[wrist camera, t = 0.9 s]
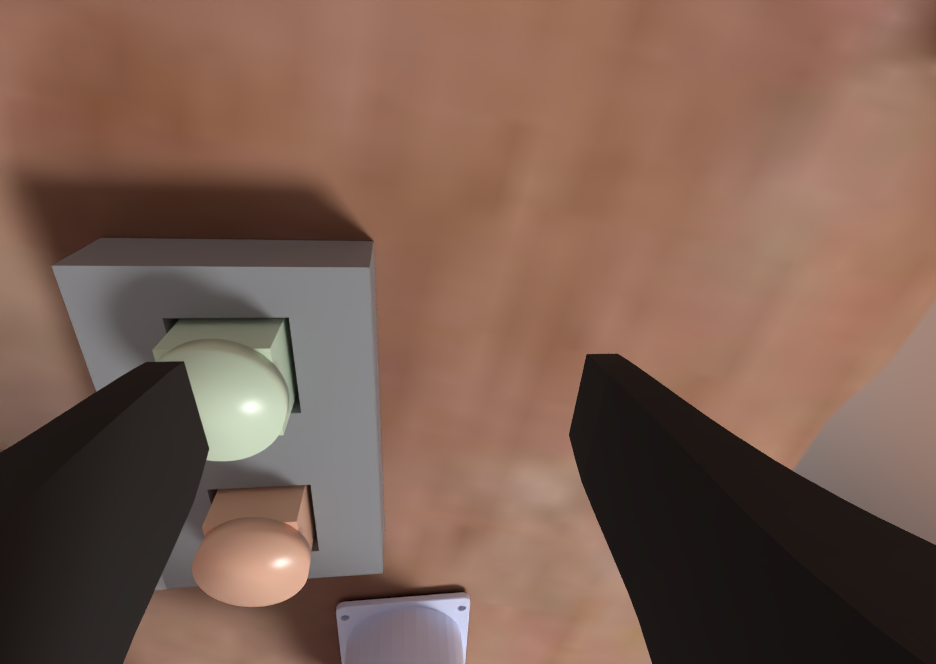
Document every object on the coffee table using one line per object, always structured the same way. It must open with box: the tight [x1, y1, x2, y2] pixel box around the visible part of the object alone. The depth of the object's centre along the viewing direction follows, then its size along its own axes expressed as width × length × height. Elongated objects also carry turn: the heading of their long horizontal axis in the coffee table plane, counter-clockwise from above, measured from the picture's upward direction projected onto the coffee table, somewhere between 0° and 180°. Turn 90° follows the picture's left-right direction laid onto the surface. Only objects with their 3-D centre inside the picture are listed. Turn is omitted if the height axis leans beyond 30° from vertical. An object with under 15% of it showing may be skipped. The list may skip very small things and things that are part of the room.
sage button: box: [152, 317, 298, 461], centre depth 18 cm, size 4×4×4 cm
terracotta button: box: [192, 485, 316, 607], centre depth 22 cm, size 4×4×4 cm
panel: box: [51, 238, 385, 589], centre depth 22 cm, size 16×10×3 cm, turn 177°
